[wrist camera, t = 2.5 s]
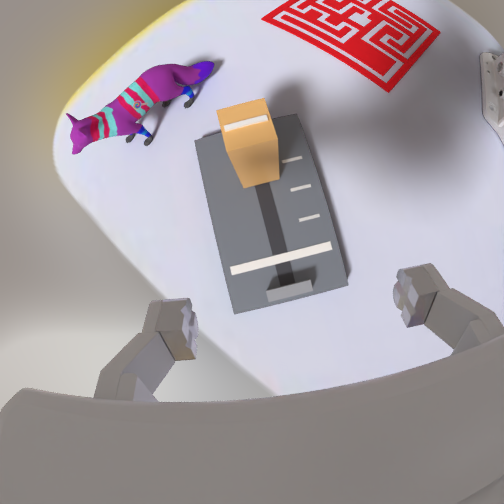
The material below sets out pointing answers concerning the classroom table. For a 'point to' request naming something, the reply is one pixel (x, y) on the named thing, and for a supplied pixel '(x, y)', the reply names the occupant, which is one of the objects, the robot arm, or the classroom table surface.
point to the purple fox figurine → (138, 103)
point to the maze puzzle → (359, 35)
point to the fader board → (271, 224)
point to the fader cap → (250, 142)
